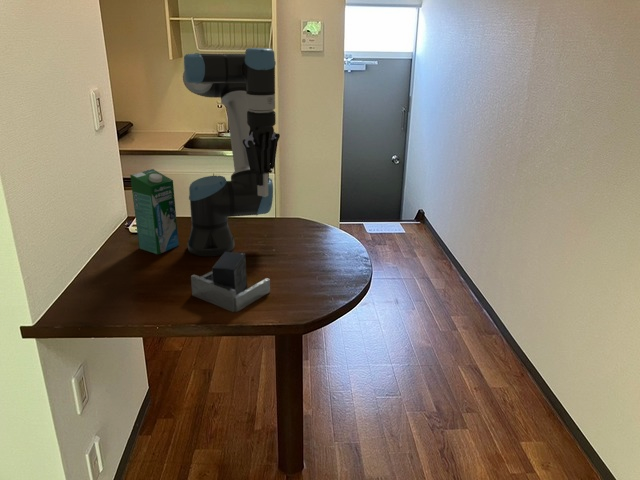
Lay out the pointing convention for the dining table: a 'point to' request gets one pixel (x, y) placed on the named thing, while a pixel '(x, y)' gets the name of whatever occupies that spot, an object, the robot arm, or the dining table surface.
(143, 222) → the milk carton
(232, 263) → the small box
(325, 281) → the dining table surface
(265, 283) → the grey u-shaped bracket
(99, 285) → the dining table surface
